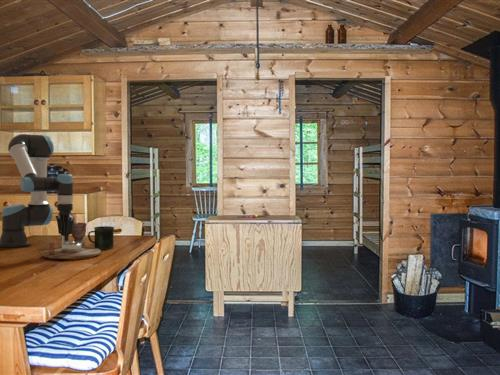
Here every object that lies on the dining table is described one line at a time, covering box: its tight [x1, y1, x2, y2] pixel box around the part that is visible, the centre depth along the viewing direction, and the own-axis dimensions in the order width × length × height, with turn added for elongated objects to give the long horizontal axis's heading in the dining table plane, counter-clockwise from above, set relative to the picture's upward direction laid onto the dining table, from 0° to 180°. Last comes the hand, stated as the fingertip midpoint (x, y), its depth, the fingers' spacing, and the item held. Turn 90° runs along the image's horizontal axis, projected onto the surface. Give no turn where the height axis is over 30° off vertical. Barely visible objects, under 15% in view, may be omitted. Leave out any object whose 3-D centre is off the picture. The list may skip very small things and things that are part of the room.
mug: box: [87, 225, 115, 250], centre depth 256 cm, size 11×15×12 cm
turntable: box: [42, 242, 102, 260], centre depth 233 cm, size 28×28×7 cm
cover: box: [60, 241, 83, 253], centre depth 234 cm, size 10×10×5 cm
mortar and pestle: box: [70, 213, 87, 247], centre depth 264 cm, size 12×9×20 cm
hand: (64, 247), depth 237 cm, fingers closed
